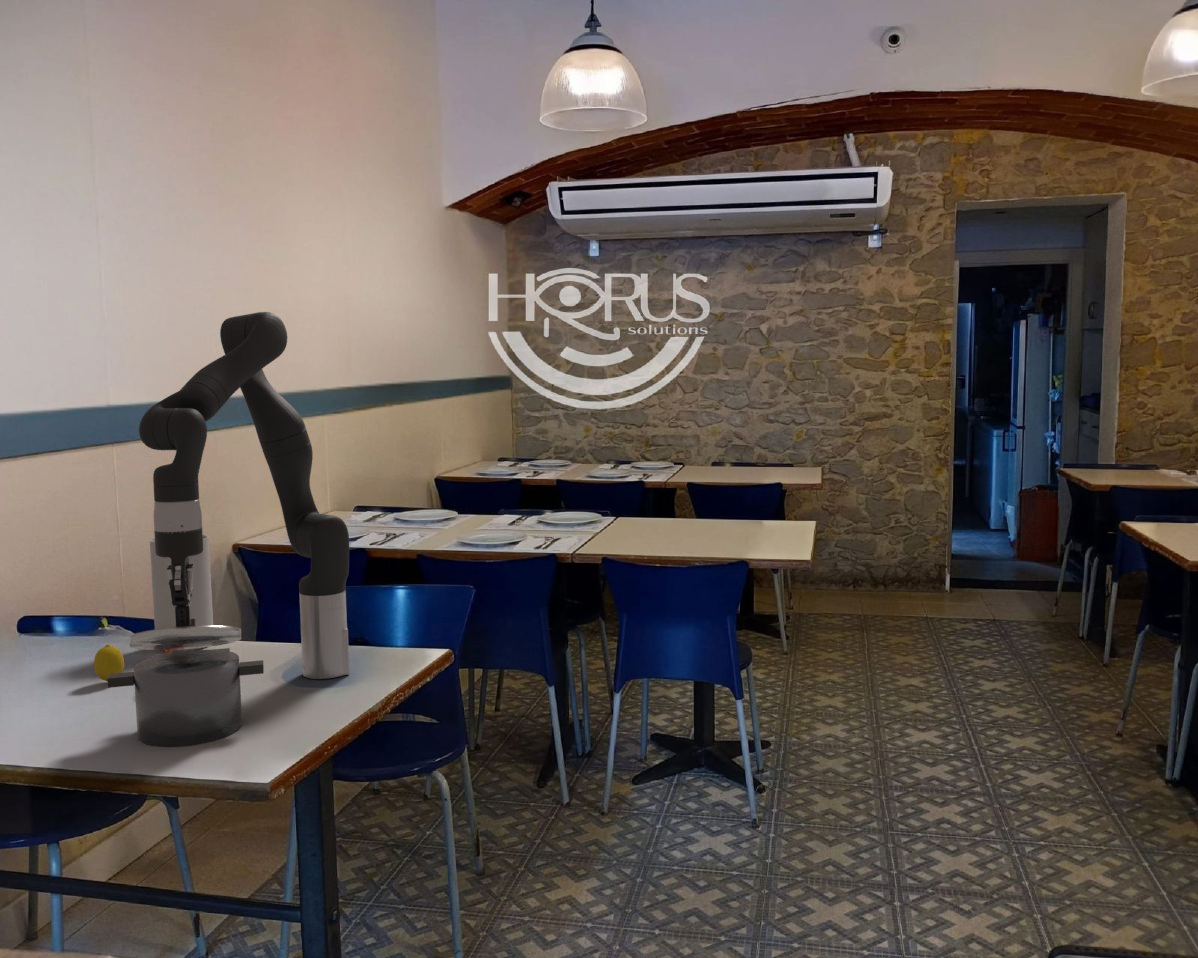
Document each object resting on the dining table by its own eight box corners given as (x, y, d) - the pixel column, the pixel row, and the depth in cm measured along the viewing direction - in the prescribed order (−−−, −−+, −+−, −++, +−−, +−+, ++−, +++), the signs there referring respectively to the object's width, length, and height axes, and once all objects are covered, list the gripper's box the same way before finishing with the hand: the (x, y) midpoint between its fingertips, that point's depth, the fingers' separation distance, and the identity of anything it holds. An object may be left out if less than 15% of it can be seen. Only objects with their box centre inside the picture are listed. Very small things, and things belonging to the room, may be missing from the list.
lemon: (101, 679, 212) (99, 641, 211) (129, 678, 213) (127, 640, 212) (90, 687, 207) (88, 648, 206) (119, 686, 207) (116, 647, 206)
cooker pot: (266, 705, 194) (263, 642, 192) (265, 737, 176) (262, 668, 175) (121, 719, 186) (117, 654, 185) (104, 754, 169) (100, 682, 168)
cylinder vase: (208, 650, 234) (202, 541, 231) (149, 654, 232) (143, 543, 229) (218, 637, 246) (213, 533, 244) (163, 640, 244) (157, 535, 242)
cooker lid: (243, 644, 191) (242, 623, 192) (238, 630, 174) (237, 607, 175) (137, 653, 185) (137, 631, 186) (122, 640, 169) (121, 616, 170)
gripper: (199, 530, 169) (204, 634, 171) (204, 520, 182) (209, 617, 183) (149, 533, 167) (155, 638, 169) (158, 522, 180) (163, 621, 181)
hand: (183, 627), depth 176 cm, fingers closed
